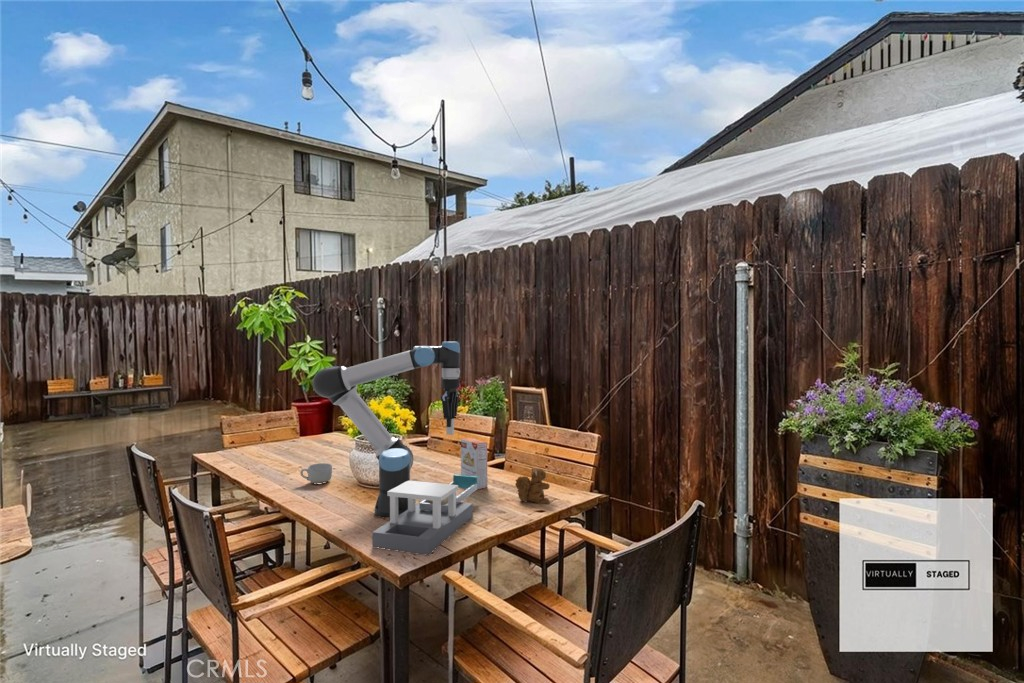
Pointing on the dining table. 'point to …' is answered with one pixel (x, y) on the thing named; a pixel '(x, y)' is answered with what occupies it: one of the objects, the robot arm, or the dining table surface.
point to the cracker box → (474, 460)
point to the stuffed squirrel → (533, 487)
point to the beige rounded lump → (441, 501)
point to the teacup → (318, 472)
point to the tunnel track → (421, 518)
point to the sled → (462, 482)
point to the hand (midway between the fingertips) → (450, 434)
